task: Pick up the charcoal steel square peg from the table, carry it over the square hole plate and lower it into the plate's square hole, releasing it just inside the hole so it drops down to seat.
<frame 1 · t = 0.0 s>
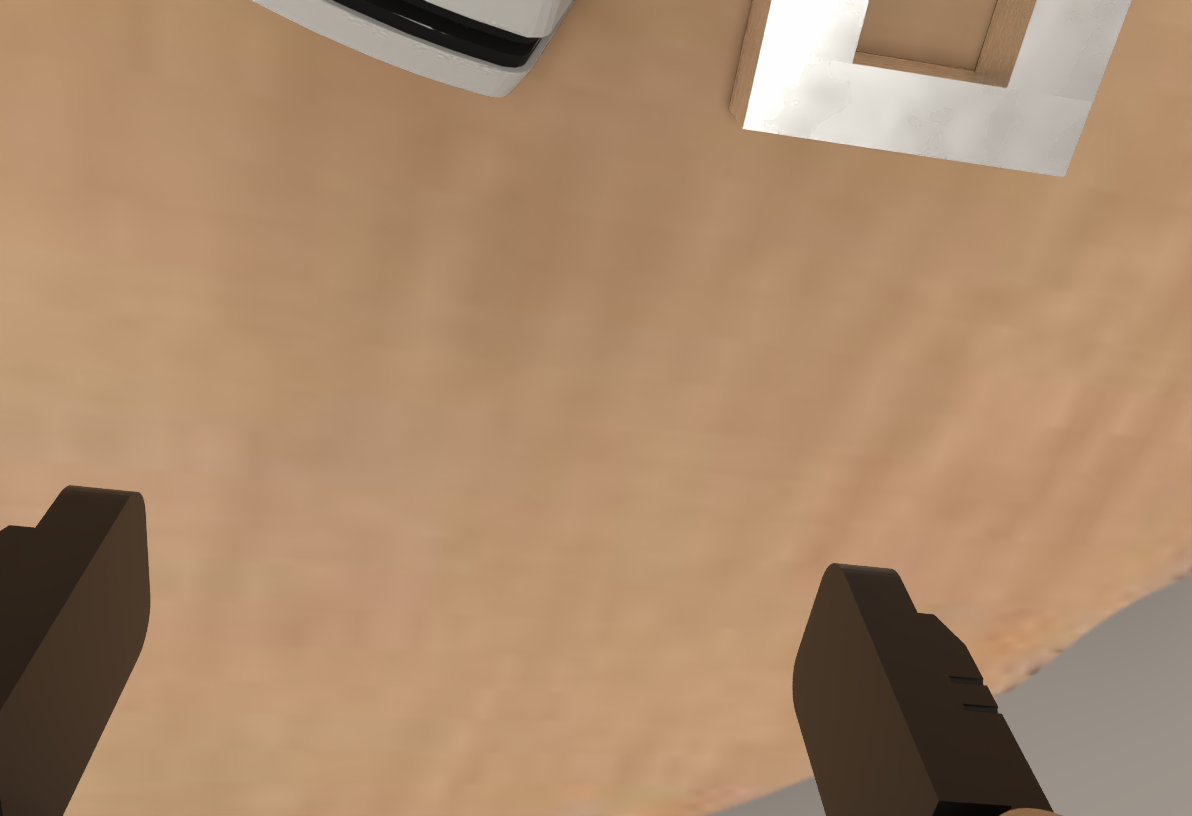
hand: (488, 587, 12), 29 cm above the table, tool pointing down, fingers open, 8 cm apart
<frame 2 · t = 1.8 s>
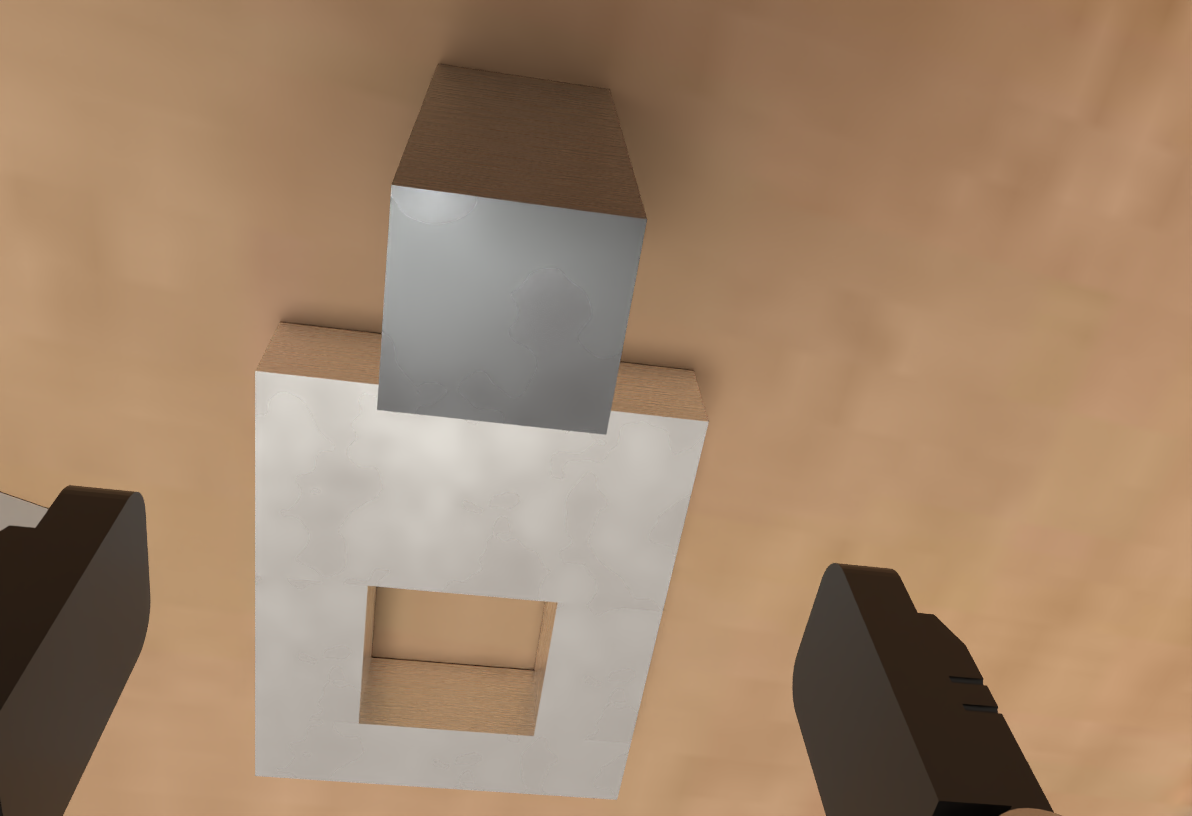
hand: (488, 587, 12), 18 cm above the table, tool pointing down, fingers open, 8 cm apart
square peg: (514, 161, 28), on the table
square hole plate: (466, 553, 34), on the table
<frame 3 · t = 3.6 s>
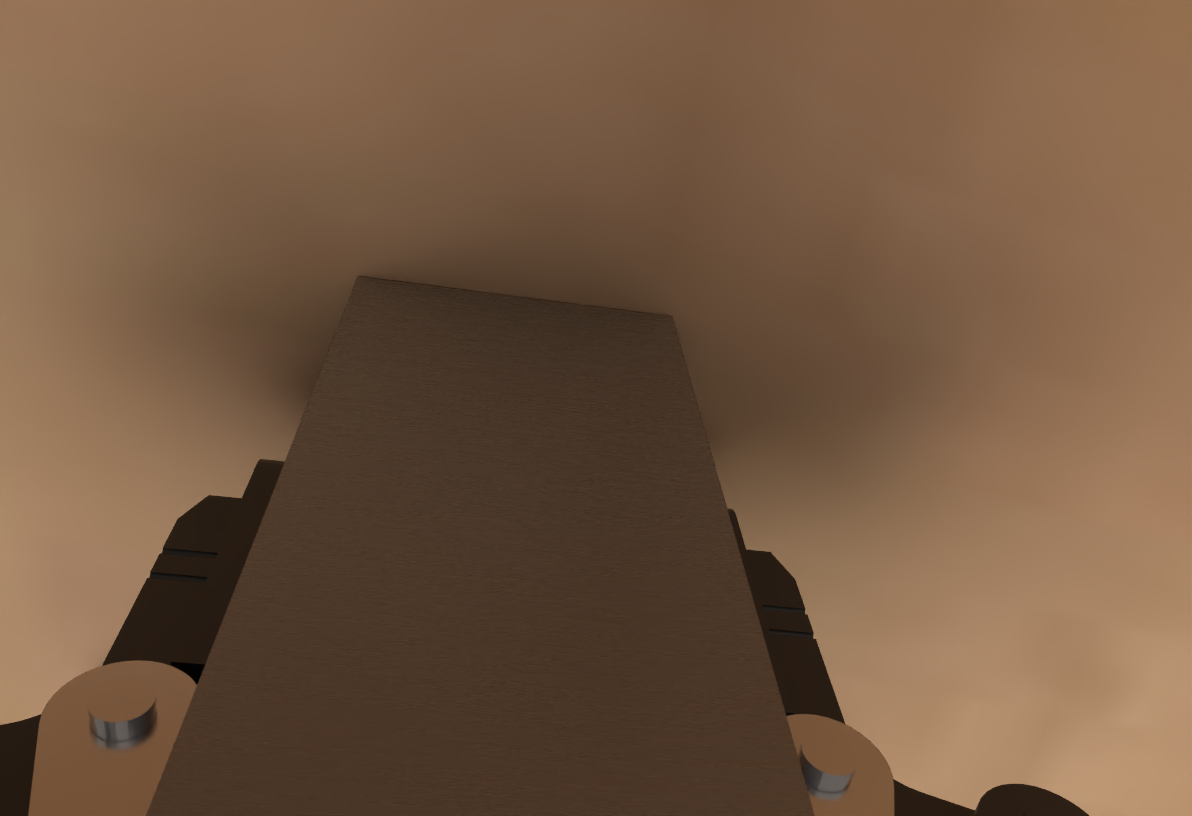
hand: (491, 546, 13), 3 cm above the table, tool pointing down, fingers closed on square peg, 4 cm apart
square peg: (499, 432, 16), on the table, touching gripper
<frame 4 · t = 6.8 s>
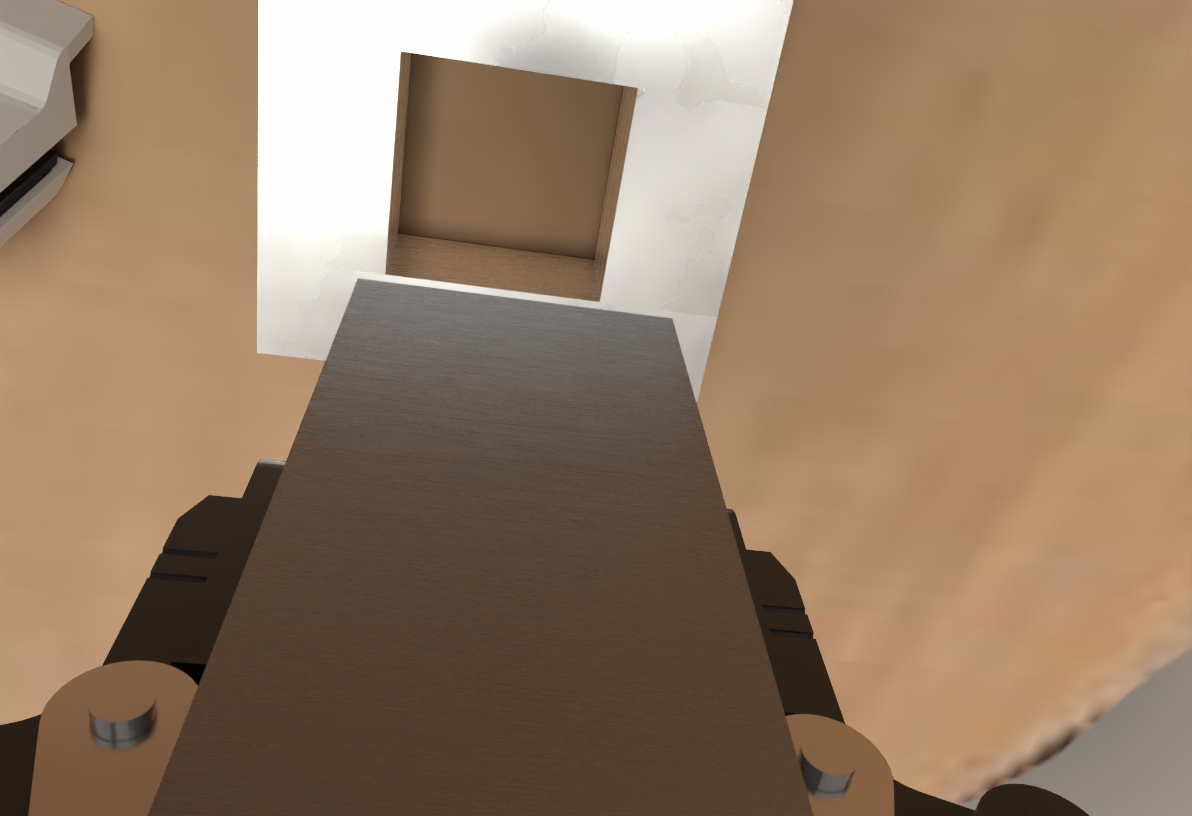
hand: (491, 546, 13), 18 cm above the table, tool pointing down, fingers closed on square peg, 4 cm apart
square peg: (499, 433, 16), point 15 cm above the table, touching gripper
square hole plate: (518, 76, 27), on the table
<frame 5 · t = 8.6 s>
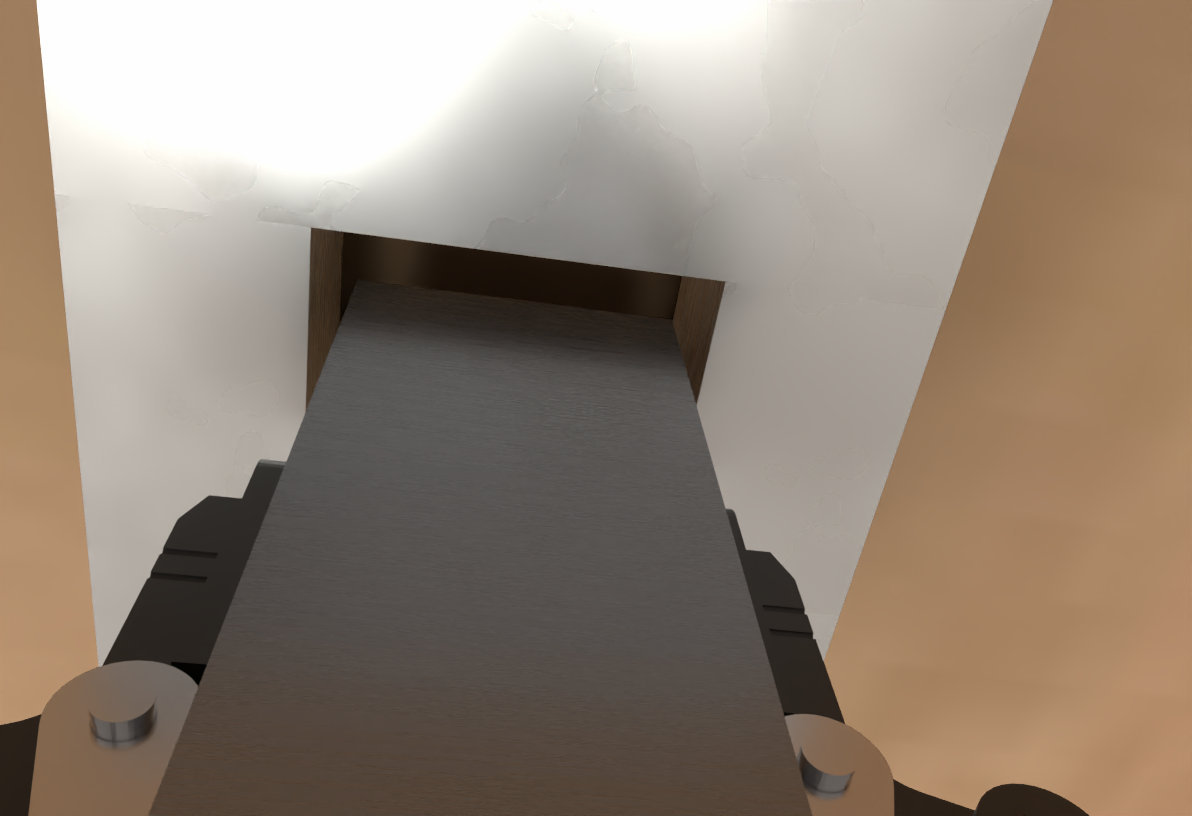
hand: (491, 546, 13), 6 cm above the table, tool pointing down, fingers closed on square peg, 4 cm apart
square peg: (499, 434, 16), point 3 cm above the table, touching gripper
square hole plate: (518, 234, 17), on the table
when the fingers open (4 cm above the table, at t = 9.9 s): square peg drops 1 cm, resting in square hole plate.
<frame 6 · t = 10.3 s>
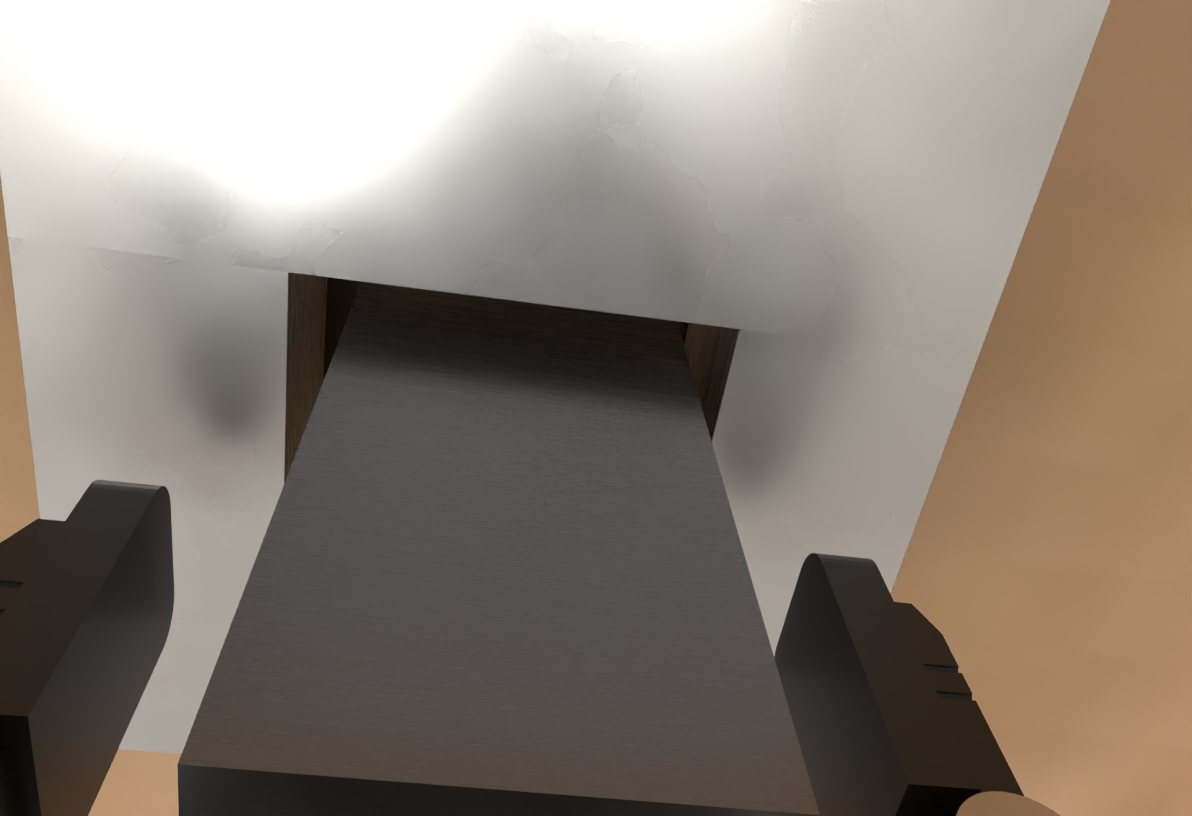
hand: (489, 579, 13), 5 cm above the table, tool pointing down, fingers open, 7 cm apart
square peg: (504, 387, 17), resting in square hole plate
square hole plate: (515, 271, 16), on the table
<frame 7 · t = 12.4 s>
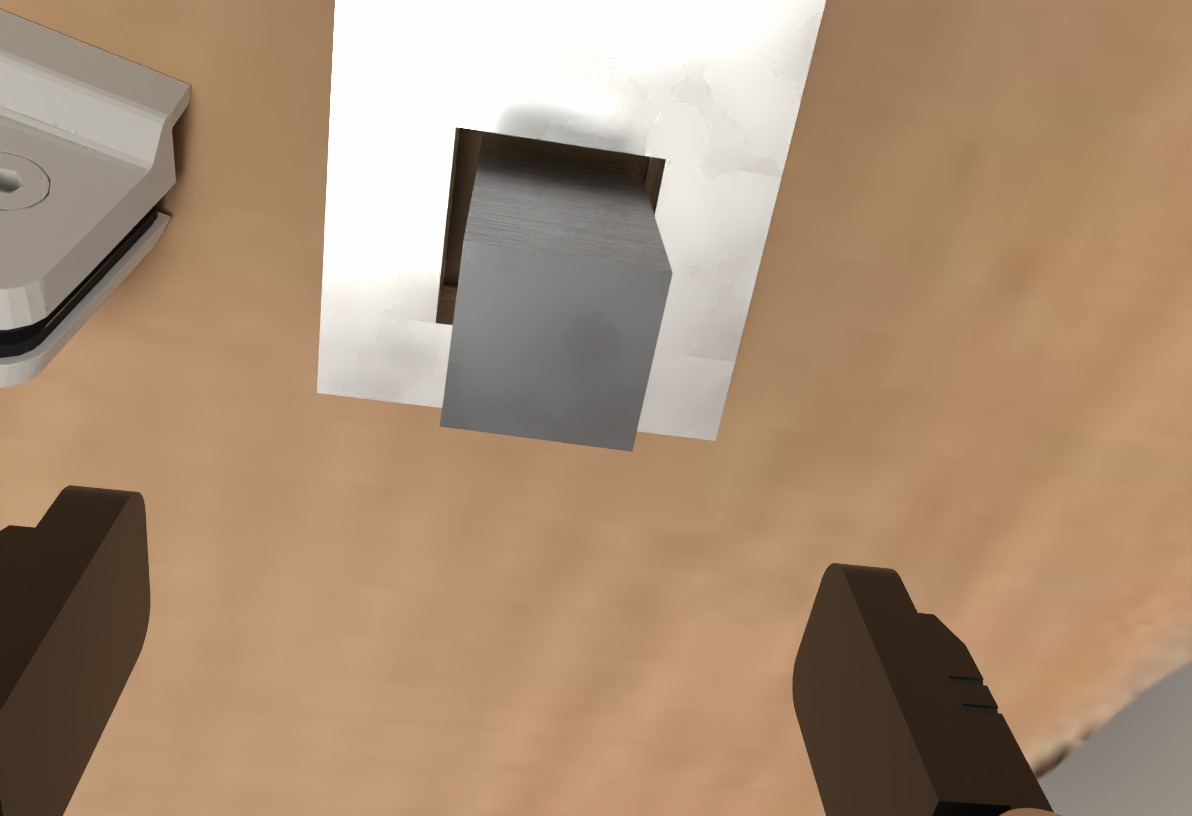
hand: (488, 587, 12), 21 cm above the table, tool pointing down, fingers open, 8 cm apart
square peg: (548, 211, 31), resting in square hole plate
square hole plate: (555, 144, 30), on the table
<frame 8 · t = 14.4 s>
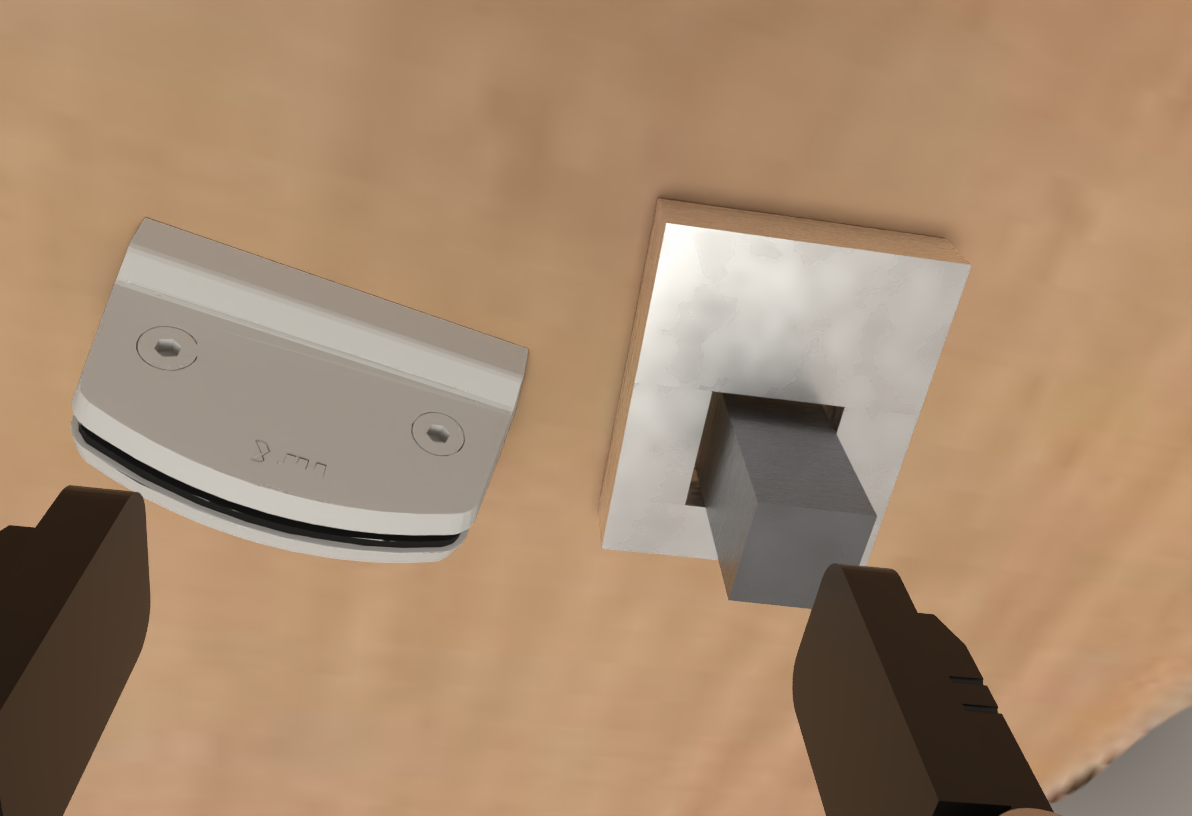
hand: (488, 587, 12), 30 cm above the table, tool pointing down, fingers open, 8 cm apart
square peg: (751, 421, 47), resting in square hole plate
square hole plate: (760, 382, 46), on the table
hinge: (321, 361, 44), on the table
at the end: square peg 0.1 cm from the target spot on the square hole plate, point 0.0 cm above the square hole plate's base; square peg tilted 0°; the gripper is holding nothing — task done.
